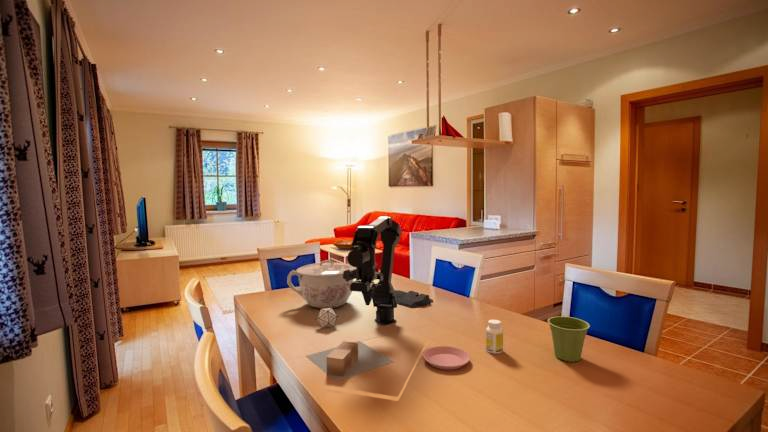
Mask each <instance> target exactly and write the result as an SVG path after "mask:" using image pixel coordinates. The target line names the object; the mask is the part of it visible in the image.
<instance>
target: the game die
mask: <svg viewBox="0 0 768 432" xmlns="http://www.w3.org/2000/svg"><path fill="white" fill-rule="evenodd" d="M318 309H319V312H318V314H317V317H316V318H314V320H315V321H317V322H318V324H319V326H320V330H323V328H335V323H336V321H337V317H338V318H339V315H338V314H336V312H335V311H334V308H333V306H332V307H331V308H324V309H321V308H320V307H319V308H318Z"/></svg>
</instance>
